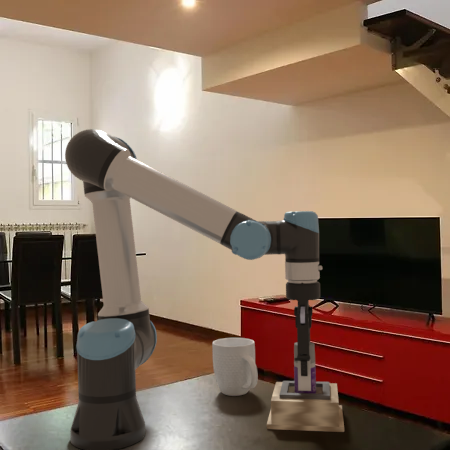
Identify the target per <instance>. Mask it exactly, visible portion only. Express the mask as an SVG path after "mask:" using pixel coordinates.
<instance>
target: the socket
mask: <svg viewBox="0 0 450 450" xmlns="http://www.w3.org/2000/svg"><path fill="white" fill-rule="evenodd" d="M338 391H339V390H338V383H336V382H335V383H333V382H332V383H331V382H330V381H316V394H314V393H295V383H294V380H282V381H276V382H275V385H274V389H273V392H272V394H271V399H270V411H269V413H268V414H269V415H268V417H267V422H266V430H284V431H285V430H286V431H289V430H290V431H309V432H333V433H334V432H335V433H336V432H337V433H344V432H345V425H344V424H345V423H344V414H343V405H342V404H340V403H339V394H338V393H339V392H338Z"/></svg>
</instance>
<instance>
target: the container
mask: <svg viewBox="0 0 450 450" xmlns="http://www.w3.org/2000/svg"><path fill="white" fill-rule="evenodd" d="M293 344H294V345H293V354H294V355H293V356H294V358H293V365H294V367H293V372H294V373H293V375H294V378H293V381H294V383H295V393H314V394H316V382H317V380H316V379H317V376H316V375H317V374H316V372H317V371H316V369H317V367H316V366H317V365H316V351H315V349H316V348H315V346H316V345H315V343H314V342H311V341H310V342H309V352H310V364H311V391H298V361H295V358H297V355H298V346H297V341H296V342H294V343H293Z"/></svg>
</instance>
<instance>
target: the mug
mask: <svg viewBox="0 0 450 450" xmlns="http://www.w3.org/2000/svg"><path fill="white" fill-rule="evenodd" d="M255 345H256V344H255V341H254V340H253V339H250V338H245V337H225V338H218V339H216V340H213V341H212V345H211V346H212V366H213V367H212V368H213V373H214V379H215V382H216V384H217V388H218V389H219V390H220V393H222V394H223V395H225V396H228V397H229V396H232V397H236V396H237V397H238V396H242V395H243V396H244V395H246V394H247V393H248V392H249V390H251V389H254V388H256V386H257V385H258V378H259V376H258V367H257V364H256V346H255Z"/></svg>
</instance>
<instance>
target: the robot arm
mask: <svg viewBox="0 0 450 450" xmlns="http://www.w3.org/2000/svg"><path fill="white" fill-rule="evenodd" d="M64 156H65V157H64V158H65V163H66V167H67V169H68V170H69V171H70V173H71V174H72V175H73V176H74V177H75V178H76V179H78V180H80V181H81V182H82V183H83V184H82V185H83V193H84V197H86V199H88V201H91V203H92V204H91V205H92V213H93V221H94V230H95V237H96V238H95V239H96V249H97V256H98V266H99V275H100V284H101V291H102V292H101V294H102V300H103V301H102V302H103V306H102V308H101V309H100V310H99V312H98V313H97V317H98V319H97V320H96V321H90V322H88V323H85V324H84V325H83V326H81V327H80V328H79V330H78V333H77V337H76V338H77V339H76V340H77V341H76V345H75V346H76V353H77V354H76V355H77V356H76V357H77V383H78V384H77V386H78V387H77V389H78V392H77V393H78V403H77V406H76V409H75V414H74V416H73V421H72V424H71V426H70V443H71V445H72V446H73V447H75V448H77V449H81V450H118V449H119V450H120V449H123V448H126V447H130V446H132V445H134V444H137V443H139V442H140V441H142V440H143V439H144V437H145V436H146V422H145V418H144V416H143V412H142V410H141V407H140V405H139V402H138V398H137V389H136V388H137V384H136V381H137V379H136V378H137V376H136V370H137V369H138V368H139V367H140V366H141V365H143V364H145V363H146V362H147V361H148V360H149V359H150V358H151V356H152V355H153V353H154V351H155V349H156V346H157V343H158V335H157V330H156V327H155V324H154V323H153V322H152V320H150V310H149V306H148V305H147V304H145V303H144V302H143V301H142V295H141V288H140V280H139V271H138V269H139V268H138V262H137V260H138V259H137V254H136V253H137V251H136V243H135V236H134V235H135V233H134V227H133V224H134V223H133V215H132V209H131V208H132V206H131V199H132V200H134V201H137V202H139V203H140V204H142V205H145V207H148V208H150V209H151V210H152V209H153V210H154V211H156V212H158V213H160V214H162V215H164V216H166V217H168V218H169V219H171V220H173V221H176V222H177V223H179V224H181V225H182V226H185V227H187V228H189V229H191V230H193V231H194V232H197V233H199V234H201V235H202V236H205V237H206V238H208V239H210V240H212V241H214V242H215V243H218V244H220V245H221V246H223V247H225V248H226V249H229V250H231V253H232V254H233V255H235V256H238V257H240V258H242V259H244V260H249V261H253V260H257V259H260V258H262V257H263V256H265V255H267V256H268V255H284V257H285V258H284V260H285V261H284V275H285V276H284V278H285V280H287V282H286V283H285V297H286V299H287V300H290V301H297V305H296V306H294V308H293V315H294V320H295V322H294V323H295V329H296V335H297V336H296V337H297V341H296V342H297V346H298V355H297V358H295V361H298V391H311V364H310V352H309V342H311V328H312V325H313V324H312V323H313V321H312V320H313V319H312V318H313V311H314V310H313V306H310V302H309V301H317V300H319V299H320V298H321V283H320V282H319V281H318V280H319V279H320V278H321V277H320V276H321V275H320V271H322V270H323V266H322V265H320V227H319V226H320V225H319V217H318V214H317V213H316V212H315V211H309V210H305V211H304V210H302V211H301V210H299V211H296V210H295V211H286V212H285V213H284V214H283V215H284V216H283V220H268V221H267V220H266V221H264V220H258V221H257V220H255V219H253V218H251V217H249V216H248V215H245V214H244V213H242V212H240V211H237V210H236V209H234V208H232V207H230V206H229V205H227V204H224V203H222V202H221V201H218V200H216V199H215V198H212V197H210V196H209V195H207V194H204V193H203V192H201V191H198V190H197V189H196V188H195V189H194V188H193V187H191V186H188V185H187V184H185V183H184V182H181V181H179V180H177V179H175V178H173V177H171V176H169V175H167V174H165V173H163V172H162V171H160V170H157V169H156V168H153V167H152V166H150V165H147V164H146V163H144V162H142V161H140V160H138V159H137V155H136V154H135V151H134V150H133V148H132V147H131V146H130V145H129V144H128V143H127V142H126V141H125V140H123V139H122V138H120V137H117V136H114V135H111V134H109V133H107V132H106V131H103V130H101V129H95V128H92V129H91V128H90V129H88V128H87V129H84V130H81V131H79V132H77V133H75V134H73V136H72V137H71V138H70V139H69V141H68V143H67V145H66V148H65V153H64Z"/></svg>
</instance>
